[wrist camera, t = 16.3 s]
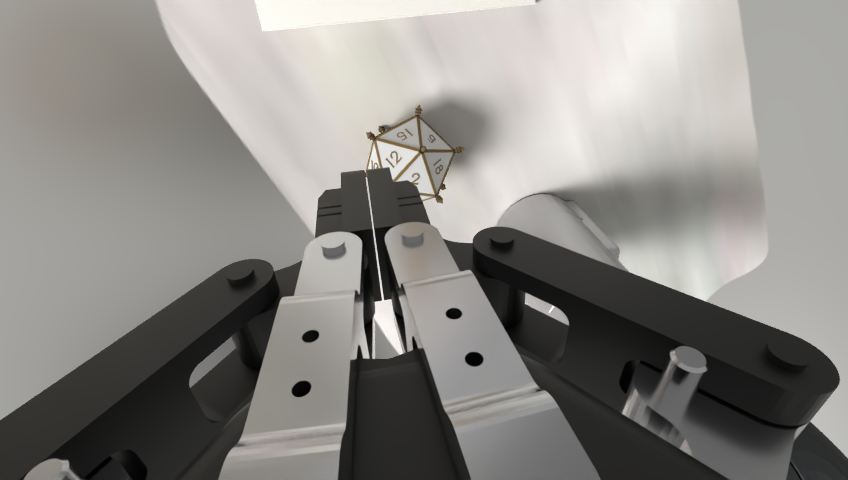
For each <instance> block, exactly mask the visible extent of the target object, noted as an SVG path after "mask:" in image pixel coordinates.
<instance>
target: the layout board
mask: <svg viewBox="0 0 848 480" xmlns="http://www.w3.org/2000/svg"><path fill="white" fill-rule="evenodd" d="M255 4H256V8H257V12H258V16H259V19H260V23H261V27H262V31H273V30H283V29H293V28H303V27H313V26H323V25H333V24H343V23H353V22H363V21H373V20H383V19H393V18H403V17H413V16H423V15H434V14H444V13H454V12H464V11H474V10H484V9H494V8H504V7H514V6H524V5H534V4H535V0H255Z"/></svg>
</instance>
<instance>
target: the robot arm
mask: <svg viewBox="0 0 848 480" xmlns="http://www.w3.org/2000/svg"><path fill="white" fill-rule="evenodd" d="M366 171H367V178H368V185H369V193H370V200H371V207H372V215H373V222H374V229H375V237H376V244H377V251H378V259H379V266H380V273H381V280H382V288H383V295H384V300H388V299H392V305H393V312H394V320H395V325H396V329H397V332H398V336H399V340H400V343H401V347H402V351H403V354H401V355H399V356H396V357H393V358H390V359H375V321H374V314H375V303H374V302H375V301H382V298H381V291H380V283H379V275H378V268H377V260H376V252H375V245H374V237H373V229H372V222H371V215H370V207H369V200H368V193H367V186H366V179H365V172H364V170H360V171H351V172H342V173H341V188H339V189H331V190H326V191H325V192H324V193H323V194H322V195H321V196H320V197H319V199H318V210H317V221H316V233H315V239H314V240H312V241H311V242H310V243H309V244H308V245H307V247H306V249H305V252H304V257H303V260H302V261H300V262H298V263H296V264H294V265H292V266H289V267H286V268H283V269H280V270H277V271H275V272H274V270H273V267H272V265H271V264H270V263H268V262H266V261H264V260H260V259H248V260H242V261H238V262H235V263H232V264H230V265H228V266H226V267H224V268H222V269H221V270H219V271H218V272H216V273H215V274H213V275H212V276H211V277H209V278H208V279H206V280H205V281H203V282H202V283H200V284H199V285H197V286H196V287H194V288H193V289H192V290H190V291H189V292H187V293H186V294H184V295H183V296H181V297H180V298H178V299H177V300H175V301H174V302H173V303H171V304H170V305H168V306H167V307H165V308H164V309H162V310H161V311H159V312H158V313H156V314H155V315H154V316H152V317H151V318H150V319H148V320H146V321H145V322H143V323H142V324H140V325H139V326H137V327H136V328H135V329H133V330H132V331H130V332H129V333H127V334H126V335H124V336H123V337H121V338H120V339H118V340H117V341H116V342H114V343H113V344H111V345H110V346H108V347H107V348H105V349H104V350H102V351H101V352H100V353H98V354H97V355H95V356H94V357H92V358H91V359H89V360H88V361H86V362H85V363H83V364H82V365H80V366H79V367H78V368H76V369H75V370H73V371H72V372H70V373H69V374H67V375H66V376H64V377H63V378H62V379H60V380H59V381H57V382H56V383H54V384H53V385H51V386H50V387H48V388H47V389H45V390H44V391H43V392H41V393H40V394H38V395H37V396H35V397H34V398H32V399H31V400H29V401H28V402H26V403H25V404H24V405H22V406H21V407H19V408H18V409H16V410H15V411H13V412H12V413H10V414H9V415H8V416H6V417H4V418H3V419H2V420H0V480H848V458H847V457H846V456H845V455H844V454H843V453H842V452H841V451H840V450H839V449H838V448H837V447H836V446H835V445H834V444H833V443H832V442H831V441H830V440H829V439H828V438H827V437H826V436H825V435H824V434H823V433H822V432H820V430H819V429H818V428H816V427H815V426H814V425H813V424H812V423H811V422H810V420H811V419H812V418H813V417H814V415H815V414H816V413H817V412H818V411H819V409H820V408H821V407H822V406H823V404H824V403H825V402H826V401H827V399H828V398H829V397H830V395H831V394H832V393H833V392H834V391H835V389H836V388H837V386H838V384H839V381H840V378H839V373H838V371H837V369H836V367H835V365H834V364H833V363H832V361H831V360H830V359H829V358H828V357H827V356H826V355H825V354H824V353H822V352H821V351H820V350H819V349H817V348H816V347H815V346H813V345H811V344H810V343H808V342H806V341H805V340H803V339H801V338H798V337H796V336H794V335H792V334H789V333H787V332H784V331H781V330H779V329H776V328H773V327H771V326H768V325H765V324H763V323H760V322H758V321H755V320H752V319H750V318H747V317H745V316H742V315H739V314H737V313H734V312H731V311H729V310H726V309H724V308H721V307H718V306H716V305H713V304H710V303H708V302H705V301H703V300H700V299H698V298H695V297H692V296H690V295H687V294H684V293H682V292H679V291H677V290H674V289H671V288H669V287H666V286H664V285H661V284H658V283H656V282H653V281H650V280H648V279H645V278H643V277H640V276H637V275H635V274H632V273H630V272H629V271H628V270H627V269H626V268H625V267H624V266H623V265H622V264H621V263H620V262H619V260H618V257H619V253H620V251H619V248H618V246H617V245H616V244H615V243H614V242H613V241H612V240H611V239H610V238H609V237H608V236H607V235H606V234H605V233H604V232H603V231H602V230H601V229H600V228H599V227H598V226H597V225H596V224H595V223H594V222H593V221H592V219H591V218H590V217H589V216H588V215H587V214H586V213H585V212H584V211H583V210H582V209H581V208H580V207H579V206H578V205H577V204H576V203H575V202H574V201H563V200H562V199H560V198H558V197H556V196H553V195H550V194H538V195H532V196H529V197H526V198H524V199H522V200H520V201H518V202H516V203H515V204H514V205H512V206H511V207H510V208H509V209H508V210H507V211H506V212H505V213H504V214H503V215H502V217H501V219H500V220H499V222H498V225H497V227H490V228H486V229H484V230H481V231H480V232H478V233H477V234H476V235H475V236H474V238H473V243H458V242H452V241H448V240H445V239H443V238H442V236H441V235H440V233H439V231H438V230H437V229H436V228H435V227H434V226H432V225H431V224H430V222H429V219H428V216H427V213H426V210H425V207H424V205H423V202H422V199H421V197H420V193H419V191H418V188H417V186H415V185H414V184H413V183H411V182H410V181H408V180H406V181H397V182H393V179H392V175H391V172H390V168H389V167H385V168H376V169H368V170H366ZM525 299H526V300H527V302H528V304H529V306H528V305H526V304H525ZM230 337H232V340H233V342H234V344H235V347H236V349H235V350H233V351H232V352H231V353H230V354H229V355H228V356H227V357H225V358H224V359H223V360H222V361H221V362H220V363H219V364H217V365H216V366H215V367H214V368H213V369H212V370H211V371H209V372H208V373H207V374H206V375H205V376H204V377H203V378H201V379H200V380H199V381H198V382H197V383H196V384H195V385H194V386H192V387H191V388H190V387H189V379H190V376H191V374H192V372H193V370H194V369H195V367H196V366H197V365H198V364H199V363H200V362H201V361H203V360H204V359H205V358H206V357H207V356H209V355H210V354H211V353H212V352H213V351H214V350H216V349H217V348H218V347H219V346H220V345H221V344H223V343H224V342H225V341H226V340H228V339H229V338H230Z"/></svg>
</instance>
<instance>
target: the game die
mask: <svg viewBox="0 0 848 480" xmlns="http://www.w3.org/2000/svg"><path fill="white" fill-rule="evenodd" d="M421 111H422V110H421V107H420V105H419V106H418V107H417V108H416V115H415V116H414V117H412V118H410V119H408V120H406V121H404V122H402V123H400V124H398V125H396V126H394V127H392V128H391V129H389V130H387V131H385V129H384V127H379V132H381V134H379V135H377V136H376V137H375V136H374V134H372V133H371V132H370V133H366V134H367V136H368V138H369V139H370V140H373V143H372V147H371V152H370V156H369V160H368V165H367V169H366V170H368V169H376V168H385V167H389V168H390V172H391V175H392V179H393V182H397V181H406V180H408V181H410V182H411V183H413V184H414V185H415V186H417V188H418V191H419V193H420V197H421V199H422V201H425V200H428V199H431V198H434V197H435V198H436V200H437V203H438V202H439V203H443V201H442V200H443V199H442V197H441V196H439V195H438V194H439V191H440V189H442V190H443V189H446V188H445V184H443V181H444V179H445V176H446V174H447V171H448V169H449V166H450V164H451V161H452V159H453V156H454V154H455V153H461V152H462V151H463V150H464V148H462V147H460V146H459V147H458V148H457V147H456V149H453V148H452V147H451V146H450V145H449V144H448V143H447V142H446V141H445V140H444V139H443V138H442V137H441V136H439V135H438V134H437V133H436V132H435V131H434V130H433V129H432V128H431V127H430V126H429V125H428V124H427V123H426V122H425V121H424V120H423V119H422V118H421V117H420V114H421ZM365 177H367V171H366V173H365Z"/></svg>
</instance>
